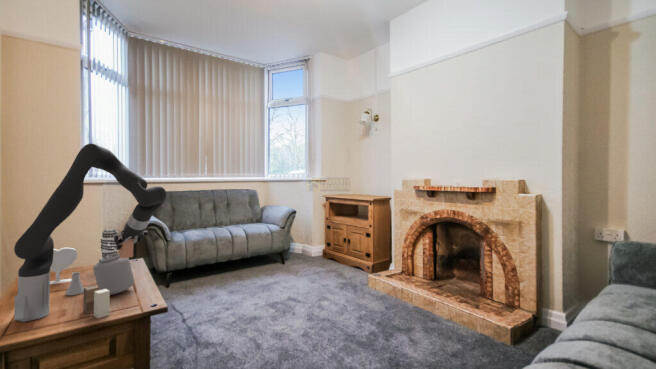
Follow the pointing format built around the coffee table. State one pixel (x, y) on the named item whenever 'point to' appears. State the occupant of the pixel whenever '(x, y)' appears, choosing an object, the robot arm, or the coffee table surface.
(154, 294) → the coffee table surface
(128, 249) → the terracotta pillar
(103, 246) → the decorative candle
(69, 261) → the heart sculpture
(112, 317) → the coffee table surface
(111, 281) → the jar
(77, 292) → the flask
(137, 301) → the coffee table surface
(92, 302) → the walnut pillar
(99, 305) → the cream pillar
